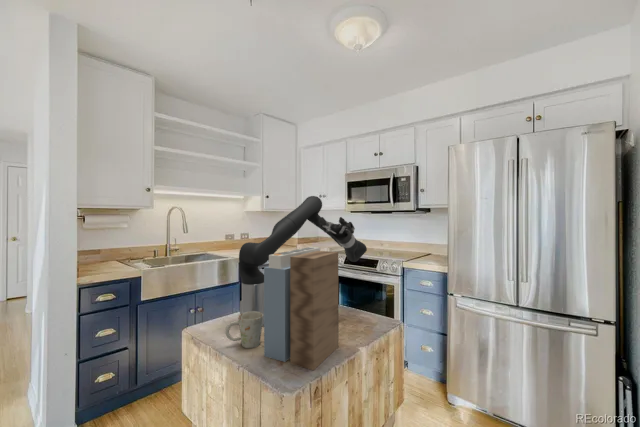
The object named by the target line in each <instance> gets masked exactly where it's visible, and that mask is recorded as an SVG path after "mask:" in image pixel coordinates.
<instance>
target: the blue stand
mask: <svg viewBox="0 0 640 427" xmlns="http://www.w3.org/2000/svg"><path fill="white" fill-rule="evenodd" d="M263 274H264V325H263V338H264V339H263V346H264V347H263V350H264V351H263V356H264V357H266V358H269V359H273V360H277V361H280V362H284V363H286V362H287V361H288V360H290V267H286V268H282V269H275V268H269V265H268V266H264V268H263Z"/></svg>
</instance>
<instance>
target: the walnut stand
mask: <svg viewBox="0 0 640 427" xmlns="http://www.w3.org/2000/svg"><path fill="white" fill-rule="evenodd" d="M339 328H340V327H339V251H327V250H326V251H325V250H320V251H314V252H310V253H305V254H301V255H297V256H292V257H290V359H289V361H290V365H294V366H297V367H301V368H305V369H307V370H311V371H315V370H316V369H317V368H318V367H319V366H320V365H321V364H322V363H324V361H325V360H326V359H328V358H329V357H330V355H332V354H333V353H334V352H335V351H336V350H337V349H338V348H339V346H340V345H339V344H340V343H339Z"/></svg>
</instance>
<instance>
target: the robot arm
mask: <svg viewBox="0 0 640 427" xmlns="http://www.w3.org/2000/svg"><path fill="white" fill-rule="evenodd" d="M322 208H323V201H322V199H321V198H320V197H319V196H316V195H311V196H308V197H306V198H305V199H304V200H303V202H302V203H301V204H299V206H297V207H296V208H295V209H293V210H292V211H291V212H289V213H288V214H286V215H285V216H284V217H283V218H281V219H280V220H278V221H277V222H276V223H275V224H274V226H273V228H272V231H271V234H270V235H269V236H268V237H266V238H265V239H264V240H262V241H261V242H252V241H251V242H245V243H244V244H242V245H241V247H240V249H239V251H238V252H239V253H238V265H239V266H238V267H239V269H238V270H239V276H240V278H241V300H240V301H239V315H240V314H242V313H245V312H252V311H255V312H261V313H262V314H263V321H262V327H264V272H262V271H261V270H260V268H259V267H260V266H263V265H265V264H266V263H268V262H269V255H272V254H276V252H277V251H278V250H279V249H280V248H281V247H283V245H284V244H286V242H287V241H289V240H290V239H291V238H292V237H294V235H296V234H297V233H298V232H299V231H300V230H301V228H302V227H303V225H304V224H305V223H306V221H308V222H310V223H312V224H313V225H314V226H316V227H317V228H319V229H320V230H321V231H322V232H324V233H326V234H327V235H328V236H329V237H330V238H332V240H333V241H334V242H335V243H336V244H338V246H340V247H342V248H343V249H344V254H345V256H346V258H347V259H348V261H350V262H352V263H356V262H358V261H359V260H360V259H361V258H362V257H363V256H364V254H365V253H367V250H368V248H367V246H366V244H365V243H363V241H362V242H361V241H360V240H358V239H356V237H355V235H354V233H355V229H356V228H355V226H354V225H353V222H352V221H346V220H345V218H343V217H342V216H340V217H338V218H339V220H338V223H333V222H331V221H327V220H326V219H325V218H324V217H323V216H320V214H319V213H320V211H321V210H322Z"/></svg>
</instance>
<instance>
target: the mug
mask: <svg viewBox="0 0 640 427" xmlns="http://www.w3.org/2000/svg"><path fill="white" fill-rule="evenodd" d="M237 318H238V319H237V320H235V321H231V322H230V323H228V324H227V326H226V327H225V332H224V333H225V336H226V338H227V339H228V340H230V341H233V342H238V341H241V343H240V344H241V346H242V348H245V349H253V348H257V347H258V346H259V345H260V343H261V336H262V327H263V326H262V321H263V314H262V313H261V312H255V311H252V312H245V313H242V314H240V313H239V315H238V316H237ZM234 326H239V327H238V328H239V333H240V337H236V338H234V337H232V335H231V334H230V330H231V328H232V327H234Z"/></svg>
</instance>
